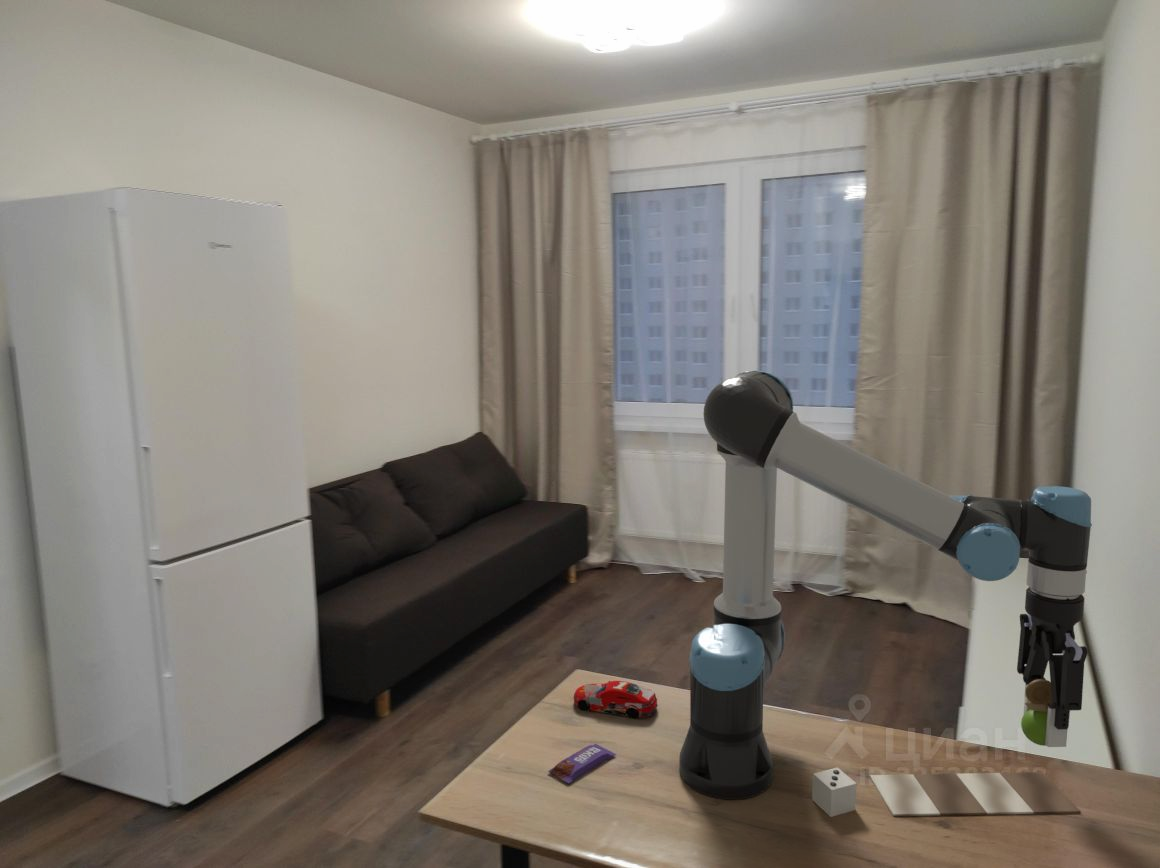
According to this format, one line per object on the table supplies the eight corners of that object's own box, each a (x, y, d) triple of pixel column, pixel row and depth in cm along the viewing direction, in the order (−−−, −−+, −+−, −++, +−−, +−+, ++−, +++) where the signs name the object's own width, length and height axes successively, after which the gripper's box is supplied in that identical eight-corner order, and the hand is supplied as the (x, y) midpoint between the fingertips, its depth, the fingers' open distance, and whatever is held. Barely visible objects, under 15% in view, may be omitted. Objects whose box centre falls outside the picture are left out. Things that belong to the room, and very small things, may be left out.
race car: (568, 710, 154) (567, 686, 153) (580, 694, 160) (580, 670, 159) (650, 724, 148) (650, 699, 147) (660, 706, 154) (660, 682, 153)
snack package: (595, 738, 140) (616, 749, 137) (595, 748, 141) (616, 759, 137) (547, 765, 132) (568, 778, 129) (547, 776, 133) (568, 789, 129)
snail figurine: (1073, 754, 120) (1079, 680, 118) (1026, 751, 122) (1032, 676, 120) (1059, 735, 125) (1065, 663, 123) (1015, 732, 127) (1020, 661, 125)
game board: (893, 816, 120) (893, 814, 120) (869, 776, 130) (869, 775, 130) (1080, 812, 120) (1080, 811, 120) (1042, 773, 130) (1042, 772, 130)
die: (830, 817, 120) (831, 789, 120) (812, 800, 125) (813, 772, 124) (855, 810, 122) (856, 782, 121) (836, 793, 126) (837, 766, 125)
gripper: (1121, 614, 110) (1107, 768, 114) (1044, 569, 129) (1034, 704, 132) (1067, 615, 110) (1054, 769, 114) (998, 570, 129) (989, 705, 132)
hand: (1043, 734), depth 123 cm, fingers closed on snail figurine, 5 cm apart
